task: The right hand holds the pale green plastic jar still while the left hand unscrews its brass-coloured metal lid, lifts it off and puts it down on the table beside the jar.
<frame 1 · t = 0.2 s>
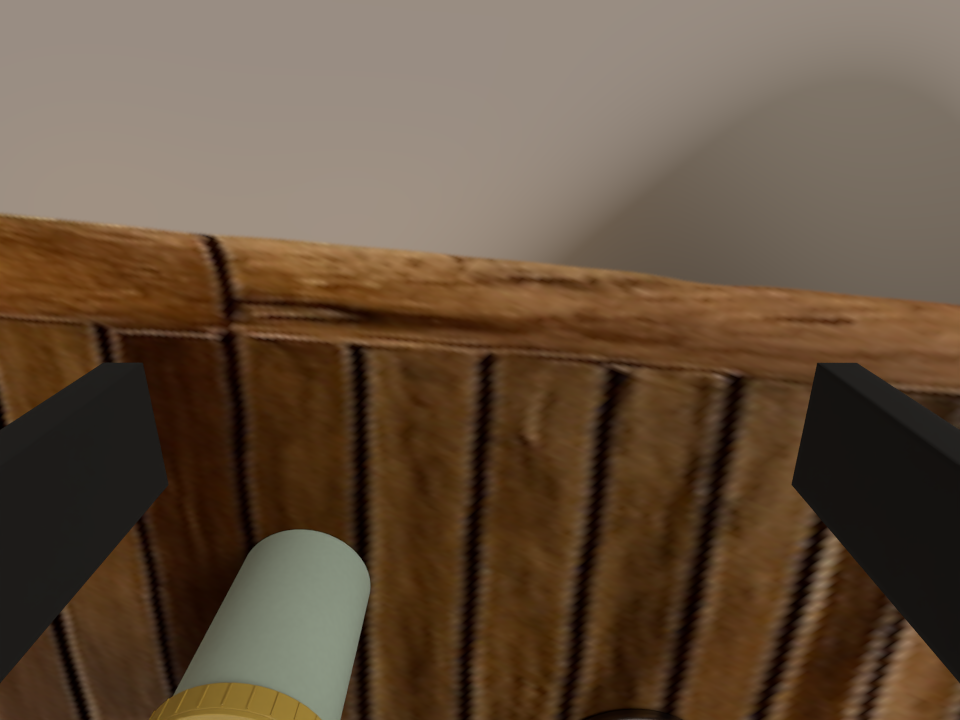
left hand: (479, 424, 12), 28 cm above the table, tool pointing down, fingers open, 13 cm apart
jar: (306, 582, 49), on the table
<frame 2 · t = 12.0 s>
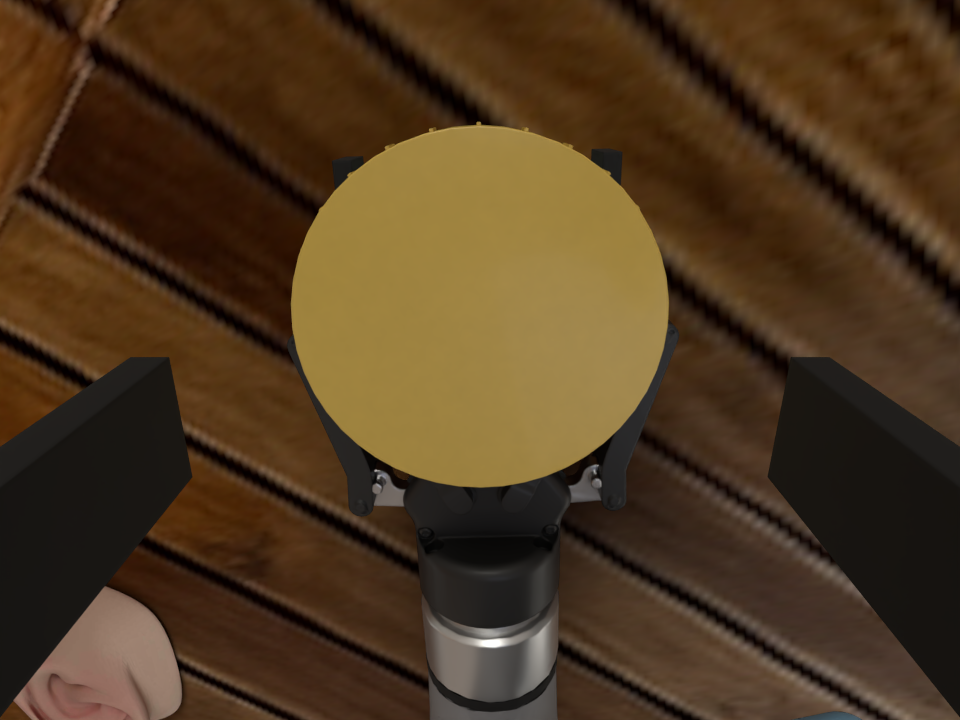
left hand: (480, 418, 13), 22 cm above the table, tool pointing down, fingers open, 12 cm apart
anatomical model: (98, 648, 44), on the table
lid: (479, 323, 19), point 16 cm above the table, screwed on, not yet turned
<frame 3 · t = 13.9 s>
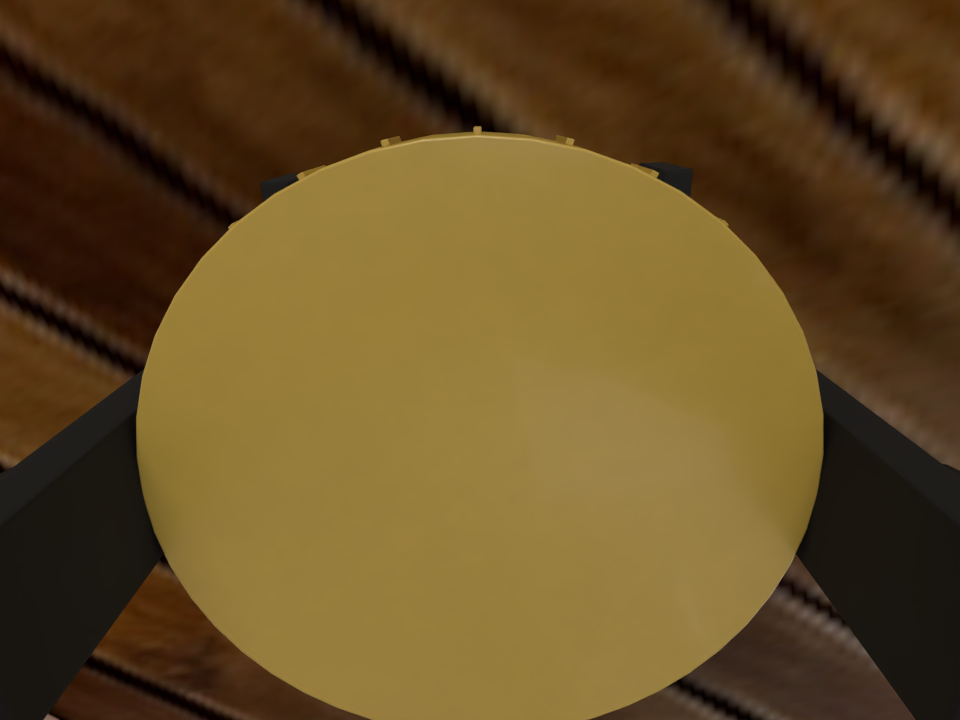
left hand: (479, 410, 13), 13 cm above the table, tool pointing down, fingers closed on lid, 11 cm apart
lid: (479, 482, 10), point 16 cm above the table, screwed on, not yet turned, touching left hand
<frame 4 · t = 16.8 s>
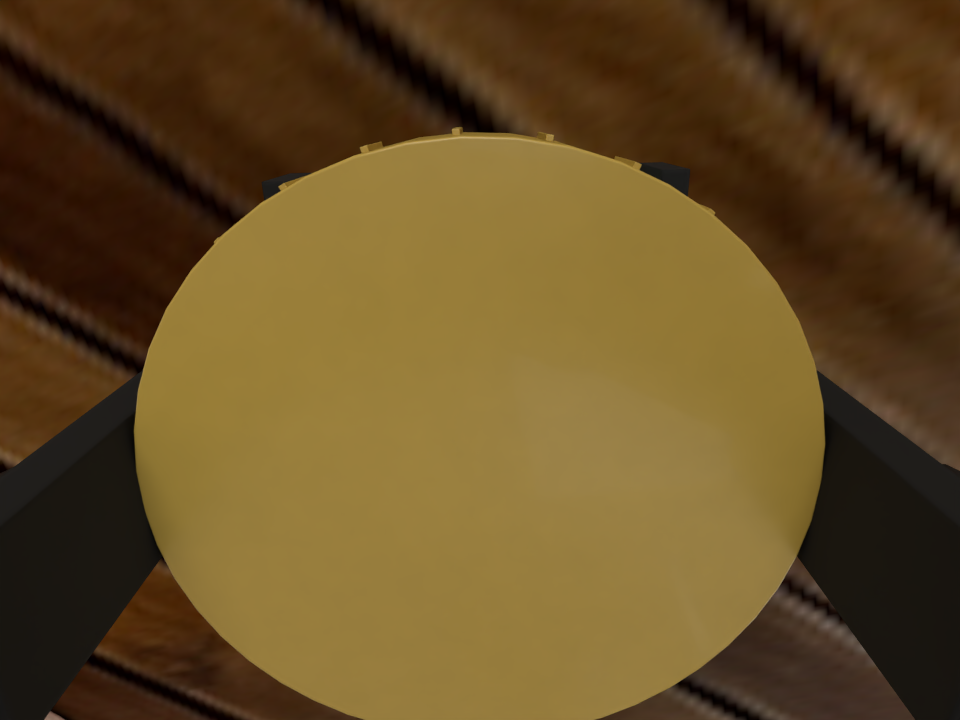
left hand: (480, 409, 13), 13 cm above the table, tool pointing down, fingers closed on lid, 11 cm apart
lid: (479, 484, 10), point 16 cm above the table, turned 70° so far, risen 0.2 cm, still on its thread, touching left hand
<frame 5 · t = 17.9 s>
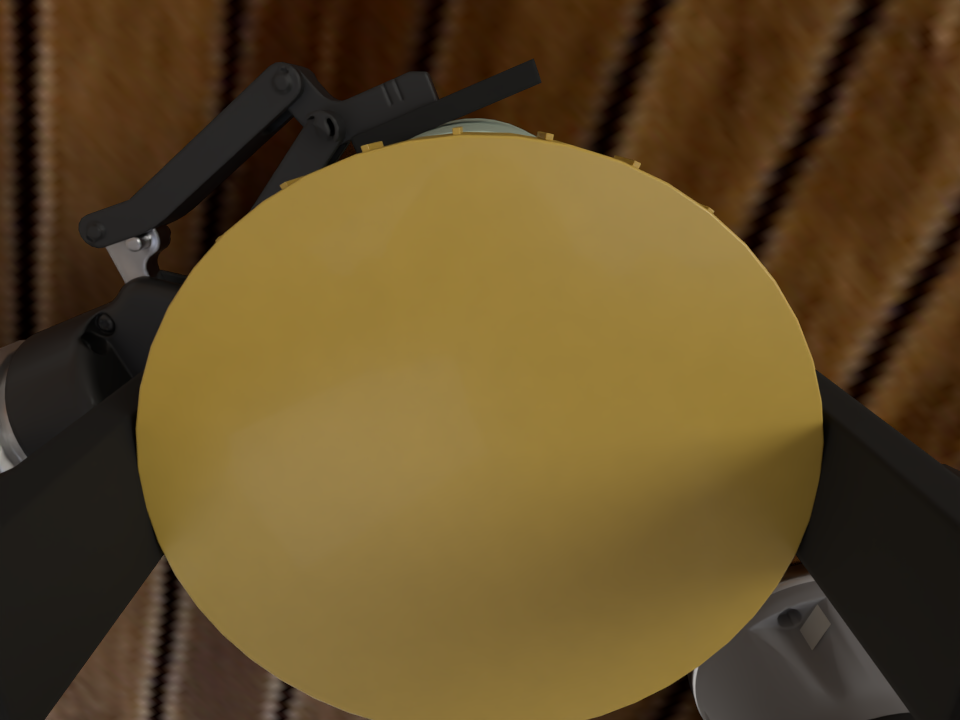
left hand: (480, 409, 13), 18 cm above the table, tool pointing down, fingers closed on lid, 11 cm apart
jar: (475, 231, 29), on the table, touching right hand
lid: (479, 482, 10), point 21 cm above the table, off its thread, touching left hand
when the left hand's fingers open (0 cm above the table, at t = 22.8 s): lid drops 1 cm, point 2 cm above the table.
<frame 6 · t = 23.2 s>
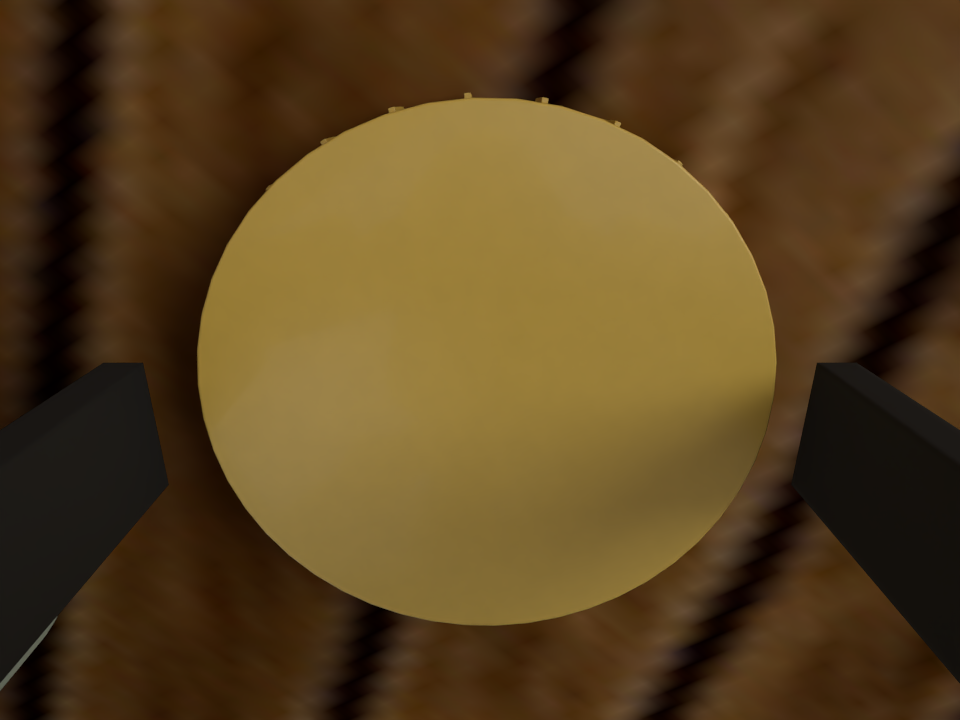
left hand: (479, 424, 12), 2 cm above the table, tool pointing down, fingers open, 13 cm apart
lid: (485, 400, 12), point 2 cm above the table, off its thread
when the right hand's fingers open (6 cm above the table, at t = 23.9 s): jar stays where it is, on the table.
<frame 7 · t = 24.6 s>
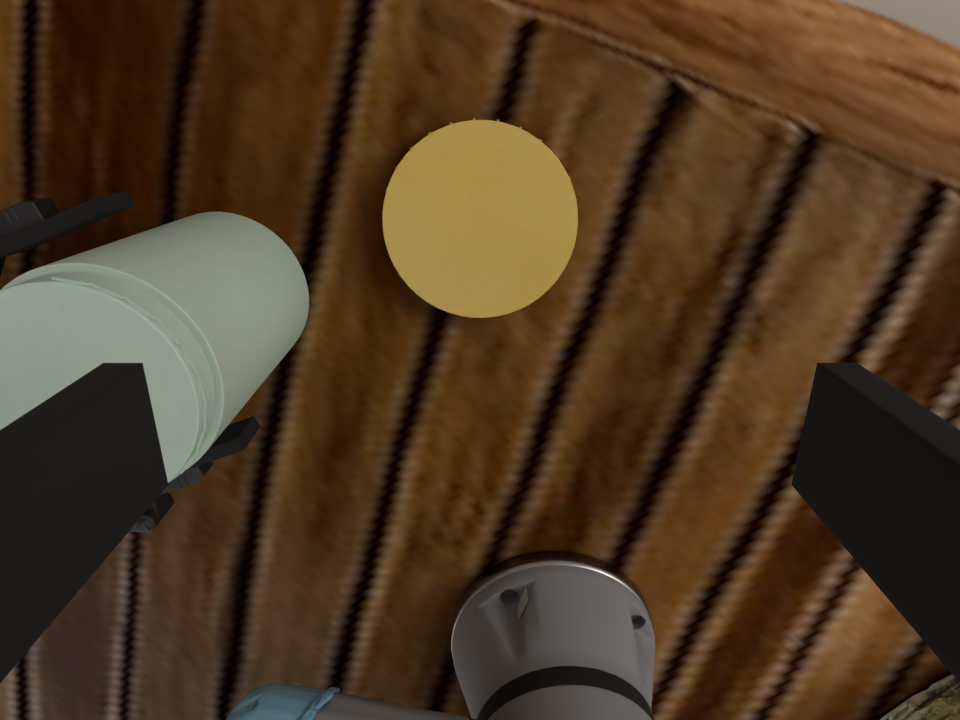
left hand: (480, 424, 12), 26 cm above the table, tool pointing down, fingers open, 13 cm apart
jar: (228, 293, 39), on the table
fossil: (934, 713, 52), on the table
lid: (480, 223, 35), point 2 cm above the table, off its thread
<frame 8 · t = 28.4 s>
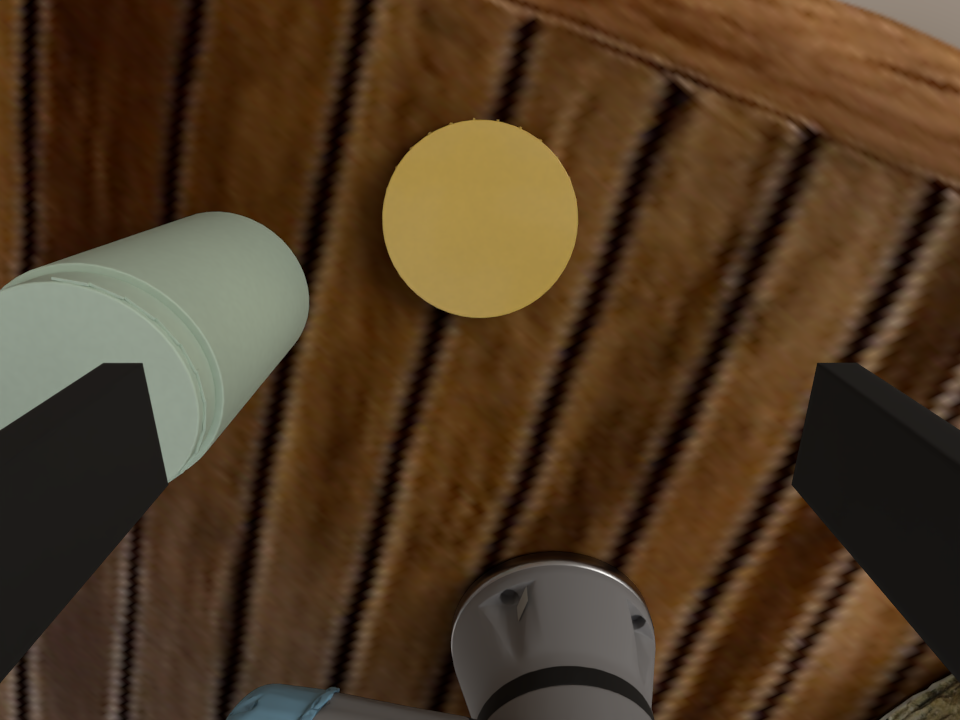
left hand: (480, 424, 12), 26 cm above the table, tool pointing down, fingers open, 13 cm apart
jar: (228, 293, 39), on the table
fossil: (934, 713, 52), on the table
lid: (480, 223, 35), point 2 cm above the table, off its thread
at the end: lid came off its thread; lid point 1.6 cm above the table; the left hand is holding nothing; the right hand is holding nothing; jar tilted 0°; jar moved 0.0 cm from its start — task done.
